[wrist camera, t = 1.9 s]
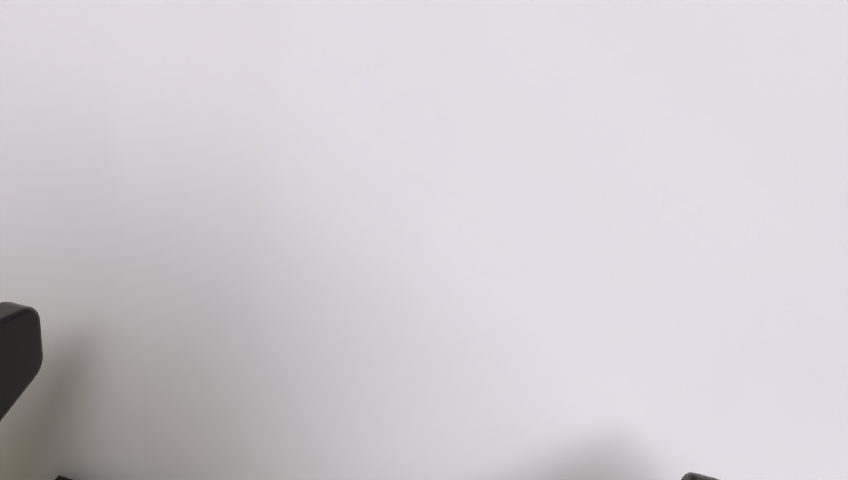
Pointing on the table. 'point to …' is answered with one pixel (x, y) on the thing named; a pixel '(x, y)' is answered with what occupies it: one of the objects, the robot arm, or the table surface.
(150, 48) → the table surface
